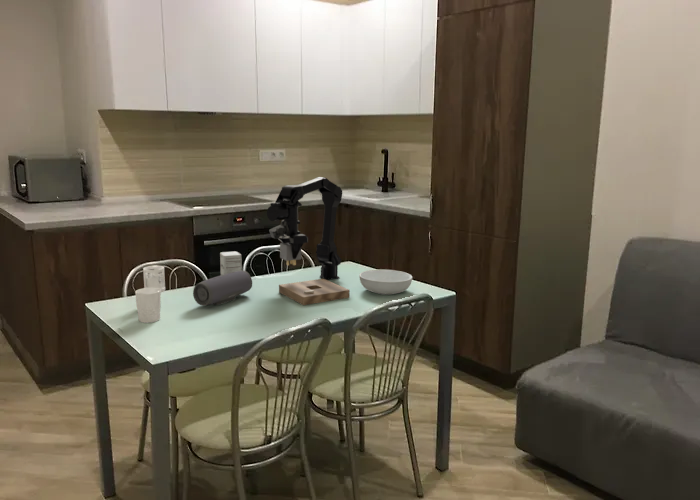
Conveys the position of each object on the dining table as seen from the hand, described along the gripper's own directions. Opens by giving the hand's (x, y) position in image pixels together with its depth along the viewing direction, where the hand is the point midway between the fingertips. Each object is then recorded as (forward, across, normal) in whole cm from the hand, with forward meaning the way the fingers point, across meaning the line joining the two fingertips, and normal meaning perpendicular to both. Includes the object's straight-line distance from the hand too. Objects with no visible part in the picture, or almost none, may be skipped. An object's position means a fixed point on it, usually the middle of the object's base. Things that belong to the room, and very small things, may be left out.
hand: (290, 257), depth 233 cm
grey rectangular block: (+3, 0, 0) cm, 3 cm away
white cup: (+13, +13, -58) cm, 61 cm away
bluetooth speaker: (+13, +4, -29) cm, 32 cm away
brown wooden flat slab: (+13, +12, +4) cm, 18 cm away
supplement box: (+13, -19, -18) cm, 30 cm away
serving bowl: (+13, +21, +31) cm, 40 cm away
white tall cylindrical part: (+13, -2, -52) cm, 54 cm away
